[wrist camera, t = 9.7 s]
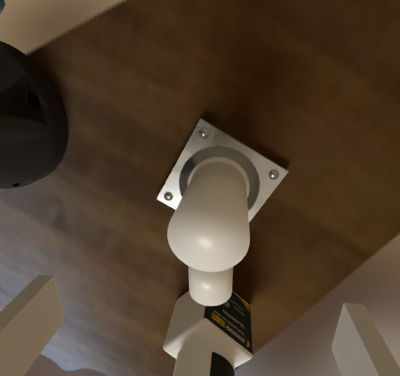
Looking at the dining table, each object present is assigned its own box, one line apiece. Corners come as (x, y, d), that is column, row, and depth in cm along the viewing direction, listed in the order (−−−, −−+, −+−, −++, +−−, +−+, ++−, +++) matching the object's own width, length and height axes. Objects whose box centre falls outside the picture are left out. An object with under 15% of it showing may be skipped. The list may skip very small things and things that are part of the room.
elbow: (188, 154, 25) (159, 194, 16) (250, 156, 25) (258, 198, 15) (190, 234, 29) (168, 303, 20) (245, 238, 28) (248, 312, 19)
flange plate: (158, 195, 29) (156, 199, 28) (201, 117, 25) (200, 118, 24) (233, 238, 29) (233, 243, 29) (287, 169, 26) (288, 172, 25)
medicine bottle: (251, 304, 33) (257, 415, 22) (214, 329, 36) (202, 438, 25) (211, 271, 32) (196, 370, 21) (175, 299, 34) (146, 400, 23)
